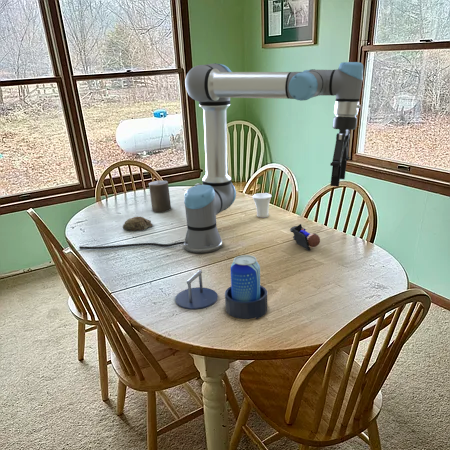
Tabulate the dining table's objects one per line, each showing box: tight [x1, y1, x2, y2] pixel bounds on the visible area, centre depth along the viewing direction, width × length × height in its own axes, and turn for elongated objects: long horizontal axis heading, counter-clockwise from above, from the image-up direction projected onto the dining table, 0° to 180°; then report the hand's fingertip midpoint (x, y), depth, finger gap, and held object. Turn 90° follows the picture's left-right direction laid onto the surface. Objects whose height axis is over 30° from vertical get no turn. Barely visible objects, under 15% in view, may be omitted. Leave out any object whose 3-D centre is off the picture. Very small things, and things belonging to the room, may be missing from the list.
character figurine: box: [289, 223, 321, 252], centre depth 172 cm, size 8×7×15 cm
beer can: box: [230, 254, 261, 302], centre depth 128 cm, size 8×8×16 cm
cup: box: [252, 192, 272, 219], centre depth 206 cm, size 9×9×10 cm
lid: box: [174, 269, 219, 310], centre depth 137 cm, size 13×13×9 cm
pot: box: [224, 284, 268, 320], centre depth 131 cm, size 12×12×6 cm
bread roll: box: [122, 216, 154, 232], centre depth 203 cm, size 13×12×5 cm
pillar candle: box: [148, 180, 172, 213], centre depth 222 cm, size 10×10×15 cm
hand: (337, 182), depth 153 cm, fingers open, 13 cm apart
